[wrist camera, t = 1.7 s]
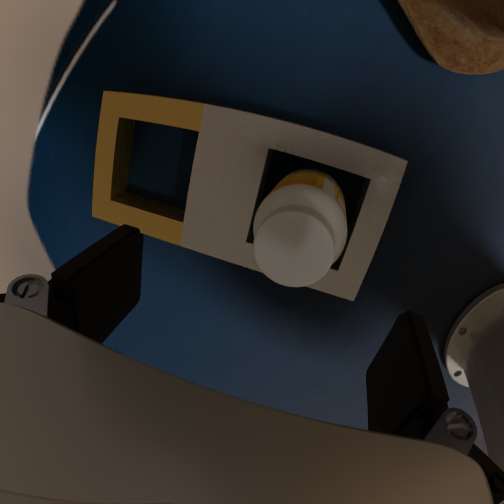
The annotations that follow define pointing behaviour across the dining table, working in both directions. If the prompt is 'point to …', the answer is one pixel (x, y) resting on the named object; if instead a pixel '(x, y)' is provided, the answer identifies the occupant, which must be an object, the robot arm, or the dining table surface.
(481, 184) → the dining table surface
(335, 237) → the supplement bottle
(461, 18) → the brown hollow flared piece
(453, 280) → the dining table surface
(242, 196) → the holder
